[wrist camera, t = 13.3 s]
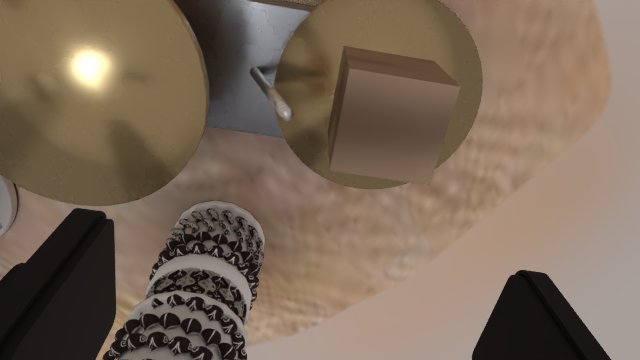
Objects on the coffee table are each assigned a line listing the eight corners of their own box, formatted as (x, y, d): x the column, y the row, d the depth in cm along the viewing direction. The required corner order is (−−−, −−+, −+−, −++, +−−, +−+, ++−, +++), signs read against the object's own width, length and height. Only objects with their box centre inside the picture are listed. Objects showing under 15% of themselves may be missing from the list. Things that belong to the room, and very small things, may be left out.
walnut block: (410, 145, 32) (429, 185, 26) (327, 132, 31) (329, 170, 26) (434, 61, 29) (460, 86, 24) (343, 45, 28) (349, 68, 23)
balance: (431, 171, 38) (475, 258, 28) (58, 115, 36) (-51, 187, 25) (486, -1, 32) (571, 25, 21) (36, -85, 29) (-124, -102, 19)
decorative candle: (240, 181, 39) (136, 498, 16) (285, 260, 43) (251, 600, 20) (150, 216, 40) (-55, 547, 18) (202, 289, 44) (85, 633, 22)
